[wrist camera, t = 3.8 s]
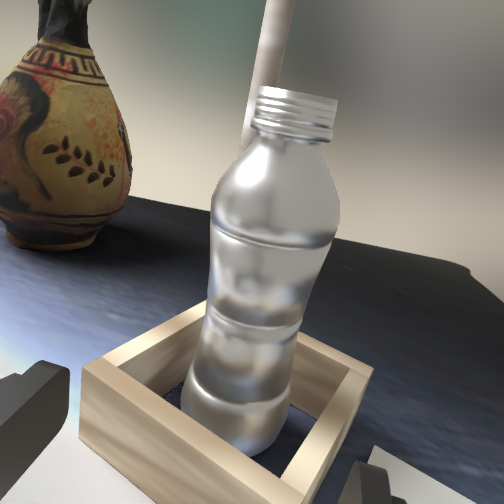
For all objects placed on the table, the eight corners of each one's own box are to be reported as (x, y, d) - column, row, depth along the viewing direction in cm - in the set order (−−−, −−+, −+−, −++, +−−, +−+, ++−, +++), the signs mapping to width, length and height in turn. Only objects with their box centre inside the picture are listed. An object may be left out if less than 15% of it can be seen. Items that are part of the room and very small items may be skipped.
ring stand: (265, 594, 17) (602, -340, 7) (70, 430, 23) (98, -227, 12) (354, 420, 28) (537, -44, 18) (208, 337, 34) (283, -54, 23)
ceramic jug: (149, 255, 46) (184, -51, 35) (-7, 273, 36) (-26, -150, 25) (93, 206, 57) (107, -38, 46) (-37, 210, 47) (-60, -102, 36)
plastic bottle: (153, 425, 24) (193, 72, 17) (230, 380, 29) (285, 92, 22) (228, 501, 21) (318, 93, 13) (301, 435, 26) (395, 112, 18)
